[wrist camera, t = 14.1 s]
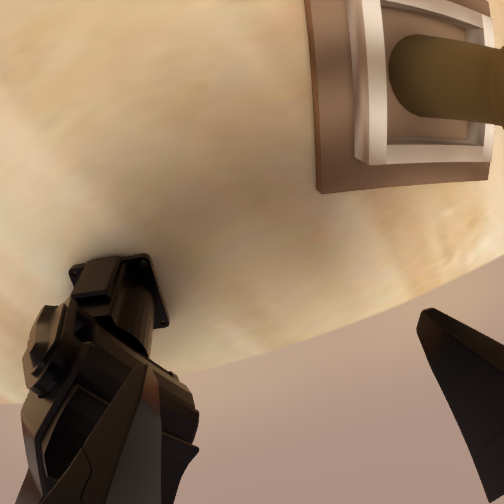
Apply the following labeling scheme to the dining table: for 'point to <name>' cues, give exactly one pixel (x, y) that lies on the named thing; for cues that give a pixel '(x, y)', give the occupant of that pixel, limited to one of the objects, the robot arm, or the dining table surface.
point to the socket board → (388, 96)
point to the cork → (448, 79)
